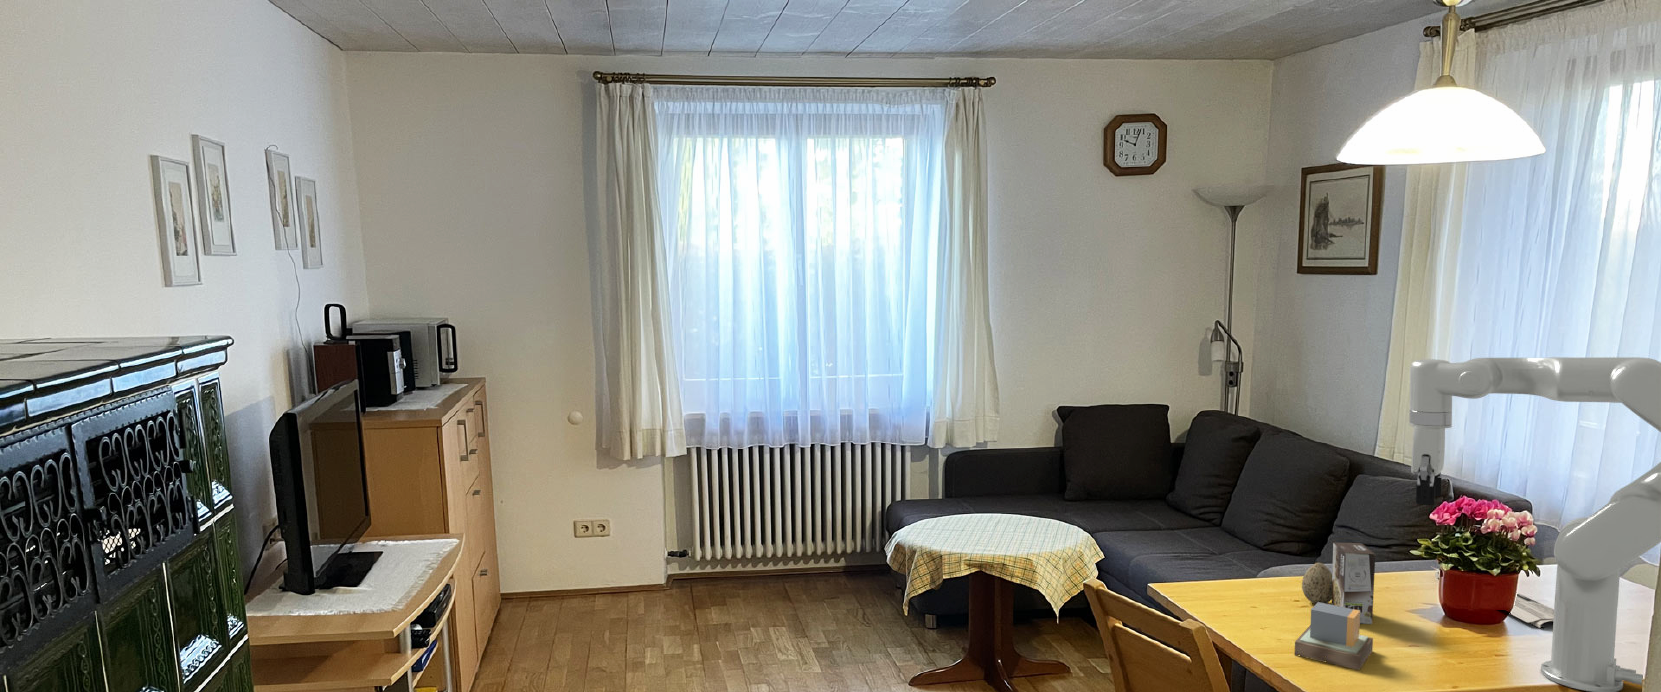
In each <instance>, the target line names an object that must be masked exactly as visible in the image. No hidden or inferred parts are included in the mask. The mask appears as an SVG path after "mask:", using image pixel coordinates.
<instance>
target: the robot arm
mask: <svg viewBox="0 0 1661 692" xmlns="http://www.w3.org/2000/svg"><path fill="white" fill-rule="evenodd" d="M1409 367H1410V369H1409V371H1410V372H1409V409H1408V411H1409V412H1408V413H1409V415H1408V416H1409V417H1408V419H1409V420H1408V421H1409V424H1408V425H1409V426H1411V427H1413V429H1414V430H1413V435H1412V446H1411V447H1412V449H1411V470H1410V471H1411V473H1412V474H1413V475H1415V474H1418V475H1417V481H1416V493H1415V495H1416V496H1415V497H1416V499H1415V500H1416V503H1415V504H1417V505H1421V506H1431V507H1433V506H1435V503H1436V497H1441V496H1442V481H1443V480H1442V478H1443V477H1441V476H1442V471H1443V468H1444V463H1445V452H1446V451H1445V447H1446V429H1450V428H1451V429H1452V427H1453V426H1452V424H1453V423H1452V420H1453V418H1452V417H1453V397H1458V398H1463V399H1468V400H1469V399H1470V400H1473V399H1482V398H1484V397H1485V396H1486V397H1487V395H1489V394H1507V395H1508V394H1510V395H1512V394H1513V395H1527V396H1528V395H1529V396H1530V395H1531V396H1537V397H1543V398H1546V399H1548V400H1552V401H1558V402H1563V403H1564V402H1565V403H1566V402H1568V403H1570V402H1571V403H1572V402H1573V403H1614V404H1622V405H1623V406H1625V408H1627V409H1628V410H1630V411H1631V412H1632V413H1634V414H1635V415H1636V416H1638V417H1639V418H1640V419H1641V420H1643V421H1645V423H1647V424H1649V425H1650V426H1651V427H1653V428H1654V429H1655V430H1657V431H1658V432H1660V433H1661V361H1659V360H1657V359H1654V358H1649V357H1640V356H1639V357H1638V356H1636V357H1628V356H1627V357H1621V356H1619V357H1617V356H1616V357H1614V356H1613V357H1611V356H1610V357H1605V356H1604V357H1569V356H1566V357H1560V356H1559V357H1557V356H1556V357H1555V356H1554V357H1475V358H1471V359H1468V360H1466V361H1463V362H1450V361H1448V360H1444V359H1435V358H1434V359H1430V358H1429V359H1428V358H1426V359H1424V358H1423V359H1415V360H1414V361H1412V363H1411V365H1410V366H1409ZM1660 543H1661V461H1659V463H1657V465H1655V466H1653V468H1651V469H1650V470H1648V471H1647V472H1645V473H1643V474H1642V475H1641V476H1639V477H1638V478H1636V479H1635V480H1633V481H1632V482H1630V483H1629V484H1627V485H1625V486H1623V487H1621V488H1619V489H1618V490H1616V491H1615V492H1614V493H1613V495H1612V496H1611V497H1610V499H1609V501H1608V503H1607V504H1605V505H1604V506H1602V507H1601V508H1600V509H1598V510H1597V511H1595V512H1594V513H1593V514H1591V515H1590V516H1588V517H1585V516H1583V517H1579V518H1575V519H1573V520H1570V521H1569V522H1567V523H1566V524H1564V525H1563V526H1562V528H1561V529H1560V530H1559V533H1558V535H1557V538H1556V540H1555V541H1554V546H1553V555H1554V559H1555V562H1556V565H1557V566H1556V577H1555V580H1556V581H1555V590H1554V591H1555V593H1554V603H1553V604H1554V606H1553V608H1554V620H1553V621H1552V622H1553V625H1552V626H1553V627H1552V639H1551V654H1550V655H1551V659H1550V660H1547V661H1544V662H1543V663H1541V664H1540V672H1541V674H1542V675H1543V676H1544V677H1545V678H1547V679H1549V680H1550V681H1553V682H1554V683H1557V684H1559V685H1562V686H1565V687H1568V688H1572V689H1576V690H1581V691H1586V692H1619V691H1621V690H1623V688H1624V681H1625V682H1629V683H1631V684H1636V685H1640V686H1643V685H1642V679H1643V675H1644V674H1641V673H1637V670H1636V669H1635V670H1634V669H1632V668H1625V667H1621V666H1620V665H1618V664H1617V658H1615V651H1616V649H1615V647H1616V634H1617V632H1616V631H1617V619H1618V606H1619V604H1618V603H1619V592H1620V589H1619V588H1620V577H1621V569H1623V568H1624V567H1626V566H1627V565H1629V564H1630V563H1631V562H1633V561H1636V559H1638V558H1639V557H1641V556H1643V555H1645V554H1646V553H1648V551H1650V550H1651V549H1654V548H1655V547H1656V546H1658V545H1659V544H1660Z"/></svg>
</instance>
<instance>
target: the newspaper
mask: <svg viewBox="0 0 1661 692" xmlns="http://www.w3.org/2000/svg"><path fill="white" fill-rule="evenodd" d="M1431 568H1433V569H1434V570H1435V571H1437V572H1435V573H1434V577H1436V578H1437V579H1438V578H1439V571H1438V570H1439V569H1440V568H1437V567H1436V568H1435V567H1433V566H1431ZM1510 615H1512V616H1514V617H1516V618H1518V619H1520V620H1521V621H1523V622H1526V623H1528V624H1530V623H1531V624H1530V625H1532V624H1533V625H1532V626H1534V625H1535V627H1537V628H1539V629H1541V627H1542V626H1543V624H1544V623H1547V622H1553V620H1554V609H1553V608H1552V607H1549V606H1547V605H1544V604H1542V603H1541V602H1538V601H1535V600H1533V599H1532V598H1529V597H1527V596H1525V595H1523V594H1520V593H1518V594H1517V597H1516V601H1515V605H1514V609H1513V611H1512V613H1511V614H1510Z"/></svg>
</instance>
